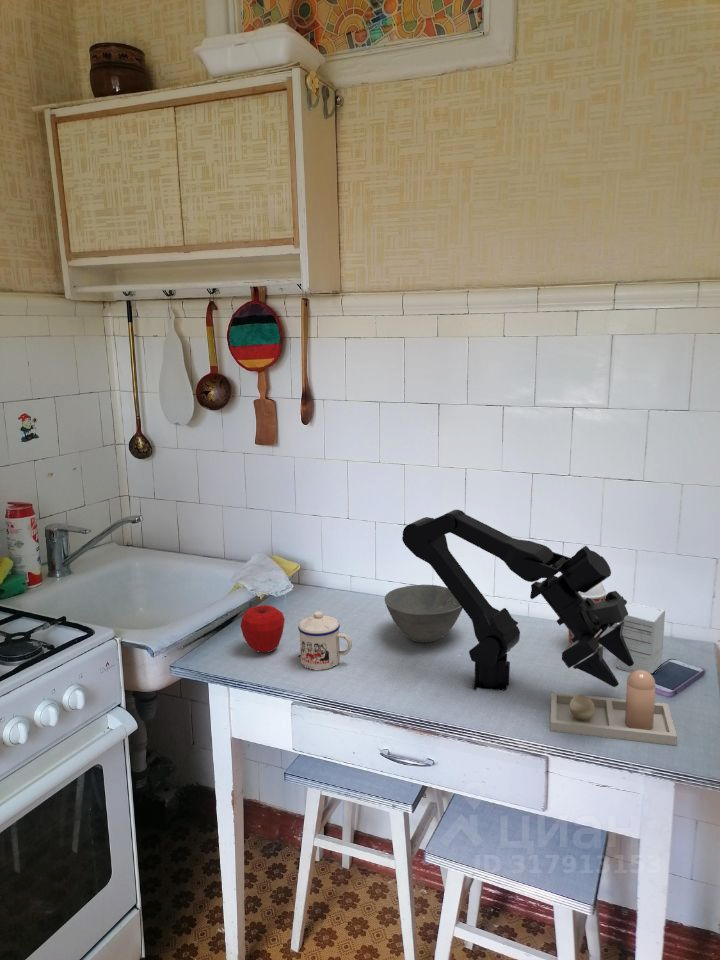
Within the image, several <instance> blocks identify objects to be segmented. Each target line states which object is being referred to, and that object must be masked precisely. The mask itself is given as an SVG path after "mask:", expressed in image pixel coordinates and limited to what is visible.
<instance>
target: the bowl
mask: <svg viewBox="0 0 720 960" xmlns="http://www.w3.org/2000/svg"><path fill="white" fill-rule="evenodd" d="M384 603H385V606H386V608H387V610H388V613H389V615H390V616H391V619H392V621H393V622H394V624H395V625H396V627H397V628H398V629H399V631H401V632H402V633H403V635H404V636H406V637H407V638H408V639H410V640H412V641H414V642H415V643H416V642H417V643H426V644H427V643H430V642H435V641H438V640H440V639H441V638H444V637H445V636H446V634H448V633H449V632H450V631H451V630H452V629H453V627H454V625H455V624H456V623H457V620H458V619H459V616H460V615H461V613H462V611H463V610H464V609H463V608H462V606H461V605H460V604H459V602H458V601H457V600H456V598H455V597H454V596H453V594H452V593H451V592H450V590H449V589H448V588H447V586H442V585H435V584H414V585H407V586H406V585H405V586H402V587H398V588H394V589H393V590H390V591H389V592H387V593H386V594H385V596H384Z"/></svg>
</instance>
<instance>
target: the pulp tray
mask: <svg viewBox="0 0 720 960" xmlns="http://www.w3.org/2000/svg"><path fill="white" fill-rule="evenodd" d="M550 693H551V696H550V730H549V731H550V732H557V733H564V734H565V733H566V734H575V735H581V736H582V735H583V736H589V737H599V738H606V739H607V738H609V739H617V740H625V741H634V742H643V743H651V744H660V745H667V746H677V743H678V742H677V740H678V734H677V731H676V728H675V724H674V721H673V717H672V714H671V710H670V705H669V704H668V703H662V702H655V704H654V721H653V728H652V729H651V730H642V729H633V728H629V727H628V726H627V725H626V724H625V710H626V698H625V699H623V698H615V697H614V698H613V697H605V696H604V697H603V696H596V695H595V696H594V695H587V694H584V695H585V696H587V697H589V698H590V699H591V700H592V702H593V704H594V713H593V715H592V716H591V717H590V718H589V719H586V720H580V719H577V718H576V717H574V716H573V715H572V713H571V711H570V702H571V700H572V698H574V697H575V696H577V695H578V694H575V693H566V692H565V693H564V692H557V691H551V692H550Z"/></svg>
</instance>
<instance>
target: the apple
mask: <svg viewBox="0 0 720 960" xmlns="http://www.w3.org/2000/svg"><path fill="white" fill-rule="evenodd" d="M284 625H285V616H284V613H283V612H281V611H280V610H279V609H278V608H276V607H275V606H272V605H267V604H264V605H263V604H262V605H256V606H253V607H249V608H248V609H247V610H246V611H245V612H244V613H243V614H242V617H241V622H240V629H241V632H242V637H243V638H244V640H245V641H246V645H248V647H249V648H250V649H251V650H254V651H255V652H257V651H259V652H258V653H260V652H267V653H269V652H268V651H270V652H272V651H274V650H275V649H277V647H278V646H279V644H280V642H281V640H282V635H283V632H284V627H285V626H284ZM273 649H274V650H273ZM271 650H272V651H271Z"/></svg>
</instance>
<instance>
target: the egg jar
mask: <svg viewBox="0 0 720 960" xmlns="http://www.w3.org/2000/svg"><path fill="white" fill-rule="evenodd" d="M629 673H630V674H628V676H627V678H626V679H627V680H626V689H625V691H626V694H625V700H626V710H625V724H626V725H627V726H628V727H629V728H633V729H642V730H651V729H652V728H653V721H654V704H655V703H656V702H655V700H656V685H657V684H656V681H655V678H654V675H651V674H650V673H649V672H647V671H644V670H635V671H633V672H629Z"/></svg>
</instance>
